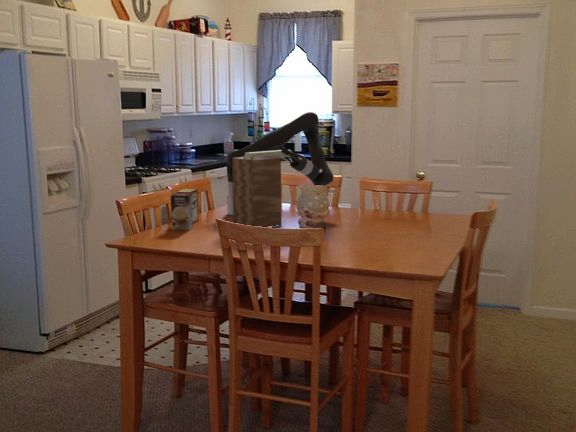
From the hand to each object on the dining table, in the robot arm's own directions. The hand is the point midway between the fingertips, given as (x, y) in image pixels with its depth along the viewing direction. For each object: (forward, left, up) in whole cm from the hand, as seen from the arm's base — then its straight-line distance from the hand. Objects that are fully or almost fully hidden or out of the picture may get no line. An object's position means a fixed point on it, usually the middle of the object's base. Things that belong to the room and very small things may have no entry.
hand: (278, 149), depth 299 cm
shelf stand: (-4, -10, -36) cm, 37 cm away
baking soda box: (-33, -30, -36) cm, 57 cm away
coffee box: (-22, -40, -36) cm, 58 cm away
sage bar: (0, -6, -4) cm, 7 cm away
